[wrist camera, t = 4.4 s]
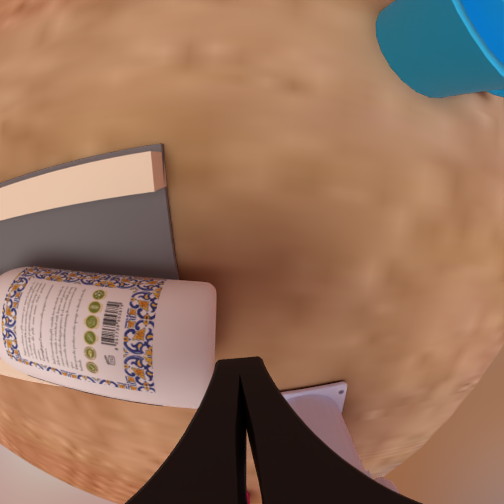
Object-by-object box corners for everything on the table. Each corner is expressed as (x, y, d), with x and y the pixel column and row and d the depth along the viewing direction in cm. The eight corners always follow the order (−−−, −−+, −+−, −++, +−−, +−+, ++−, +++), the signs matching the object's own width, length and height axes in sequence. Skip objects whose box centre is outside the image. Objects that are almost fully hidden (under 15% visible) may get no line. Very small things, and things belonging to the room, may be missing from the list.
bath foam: (218, 254, 15) (-35, 237, 13) (211, 382, 10) (-77, 307, 8) (216, 326, 20) (0, 297, 18) (212, 422, 15) (-28, 362, 13)
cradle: (197, 370, 20) (194, 398, 17) (10, 359, 19) (-4, 376, 16) (163, 144, 15) (150, 140, 12) (-40, 199, 14) (-62, 206, 11)
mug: (367, 66, 15) (446, 27, 7) (380, -12, 12) (438, -59, 5) (481, 137, 16) (556, 144, 9) (486, 62, 14) (550, 52, 6)
